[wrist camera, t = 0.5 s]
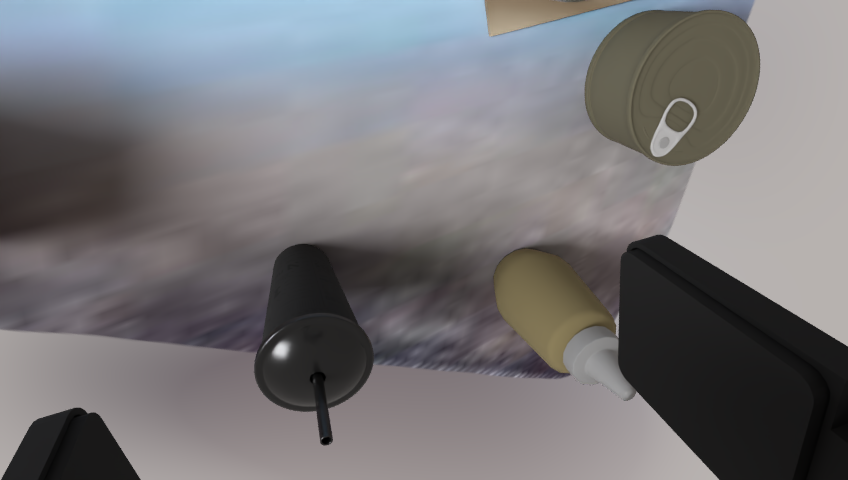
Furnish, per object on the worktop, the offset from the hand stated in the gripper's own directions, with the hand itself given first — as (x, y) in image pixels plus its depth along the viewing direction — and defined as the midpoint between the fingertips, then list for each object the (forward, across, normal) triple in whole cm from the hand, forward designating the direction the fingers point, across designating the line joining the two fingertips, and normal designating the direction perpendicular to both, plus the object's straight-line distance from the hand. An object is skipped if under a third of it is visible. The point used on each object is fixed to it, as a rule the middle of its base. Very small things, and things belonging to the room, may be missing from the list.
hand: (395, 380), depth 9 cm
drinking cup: (+34, +4, +15) cm, 38 cm away
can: (+34, -30, +6) cm, 46 cm away
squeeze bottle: (+34, -17, +22) cm, 44 cm away
